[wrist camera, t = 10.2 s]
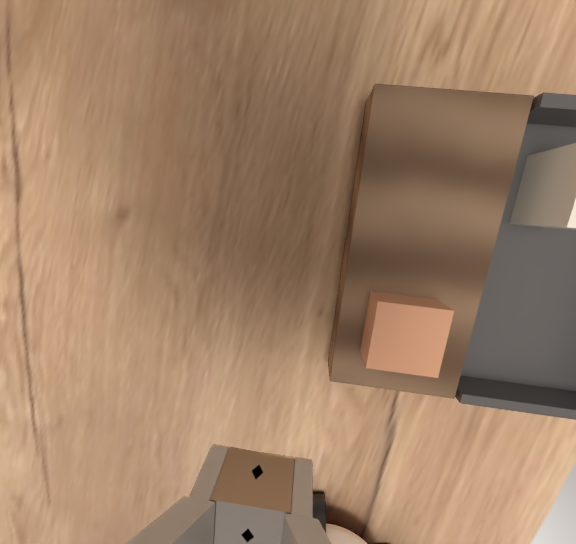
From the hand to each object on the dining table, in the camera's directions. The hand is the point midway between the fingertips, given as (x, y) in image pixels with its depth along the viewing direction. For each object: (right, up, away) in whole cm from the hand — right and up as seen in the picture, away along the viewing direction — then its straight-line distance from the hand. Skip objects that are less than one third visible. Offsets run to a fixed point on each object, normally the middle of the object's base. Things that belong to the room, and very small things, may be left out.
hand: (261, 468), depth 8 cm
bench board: (+11, +8, +15) cm, 20 cm away
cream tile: (+18, +12, +10) cm, 24 cm away
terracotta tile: (+9, +2, +13) cm, 16 cm away
